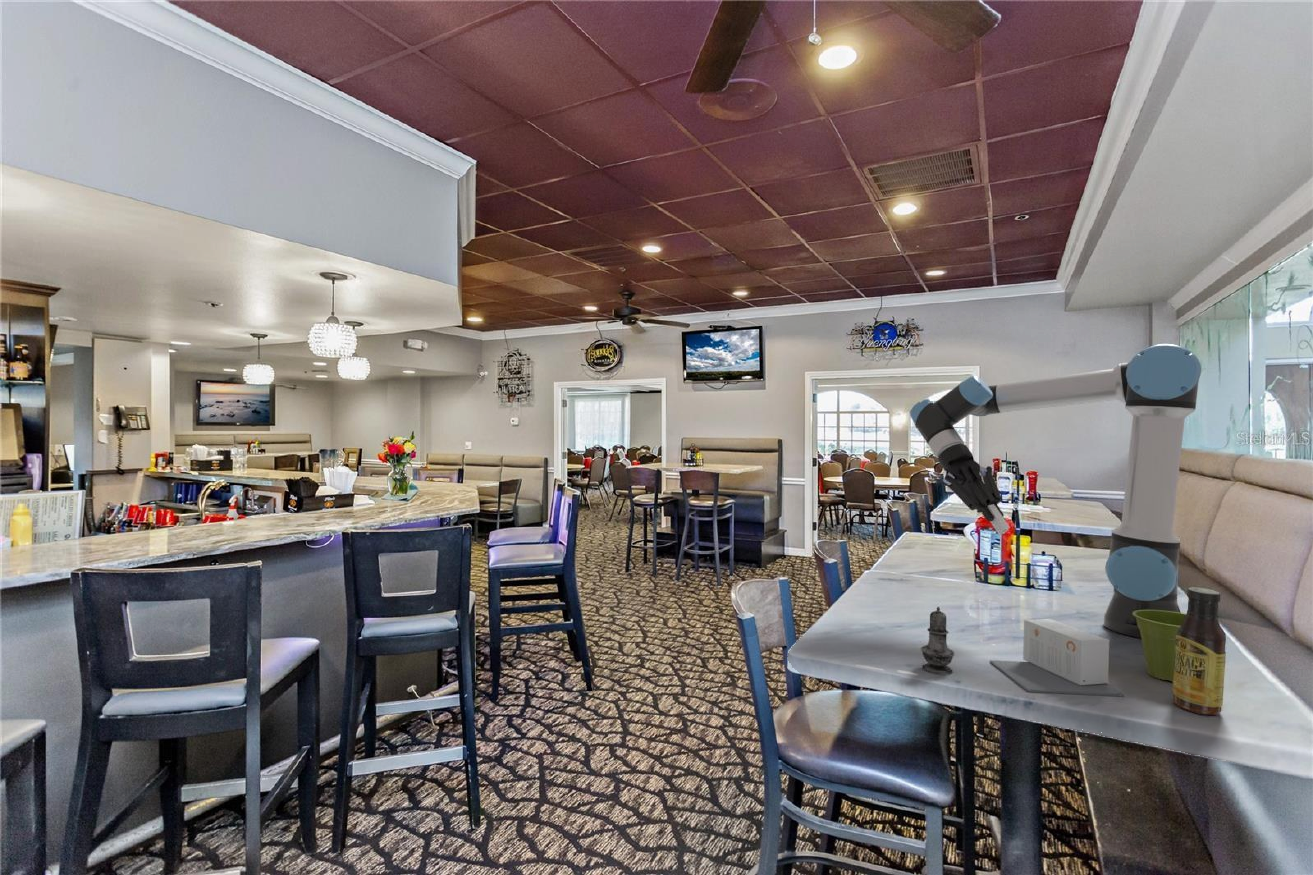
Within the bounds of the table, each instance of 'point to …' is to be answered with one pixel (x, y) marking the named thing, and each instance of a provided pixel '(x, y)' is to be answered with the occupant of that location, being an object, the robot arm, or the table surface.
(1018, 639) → the table surface
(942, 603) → the table surface
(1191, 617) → the sauce bottle
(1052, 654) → the small box
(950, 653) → the salt shaker
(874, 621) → the table surface
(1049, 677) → the rubber mat
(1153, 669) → the plant pot
